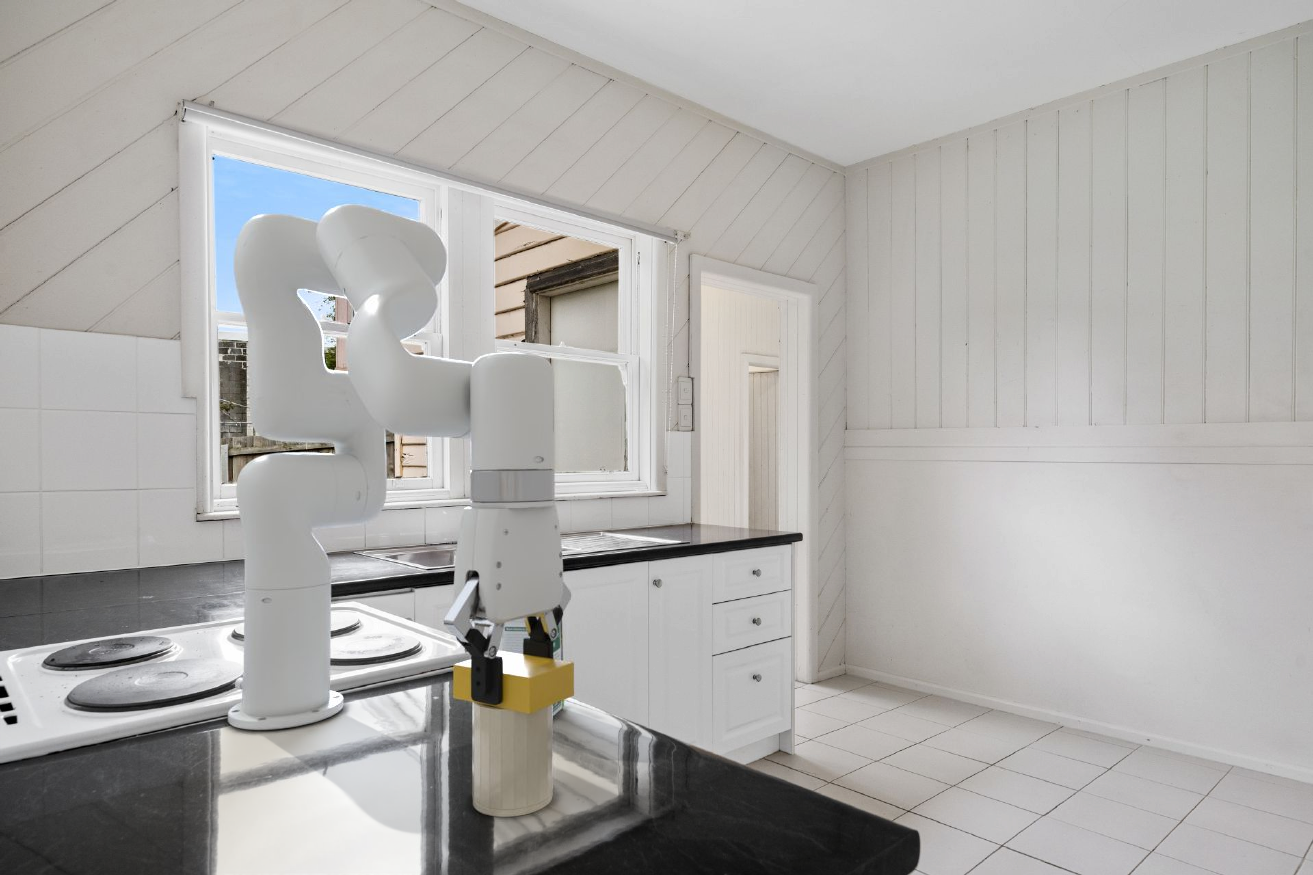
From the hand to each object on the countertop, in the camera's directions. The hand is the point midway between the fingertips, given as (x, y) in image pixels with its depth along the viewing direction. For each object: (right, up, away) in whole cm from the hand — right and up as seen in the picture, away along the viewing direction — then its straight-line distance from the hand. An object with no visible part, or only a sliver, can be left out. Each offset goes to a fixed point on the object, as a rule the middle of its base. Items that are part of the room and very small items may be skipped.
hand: (513, 690), depth 68 cm
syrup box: (-2, -11, +23) cm, 26 cm away
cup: (0, -10, 0) cm, 10 cm away
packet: (0, -1, 0) cm, 1 cm away
